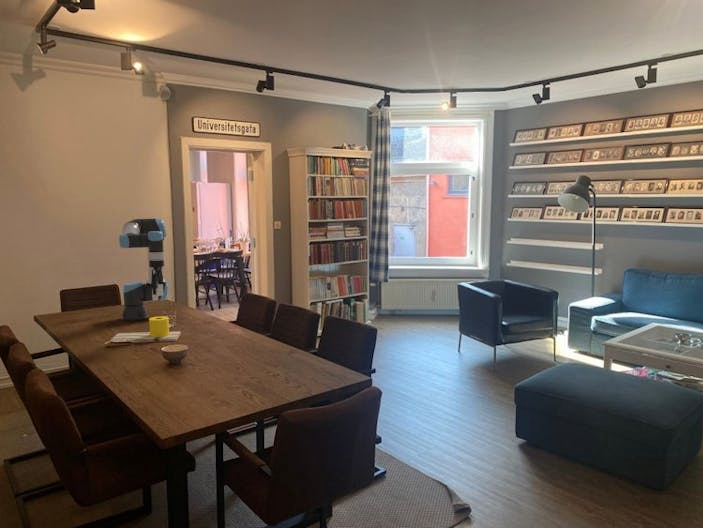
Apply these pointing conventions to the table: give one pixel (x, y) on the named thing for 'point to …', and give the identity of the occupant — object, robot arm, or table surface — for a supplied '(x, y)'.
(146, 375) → the table surface
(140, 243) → the robot arm
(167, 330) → the tape roll
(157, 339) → the board
